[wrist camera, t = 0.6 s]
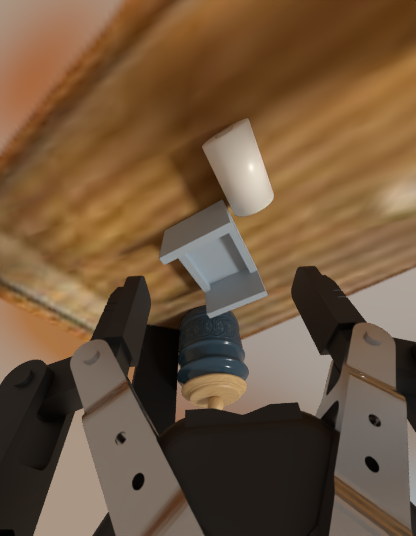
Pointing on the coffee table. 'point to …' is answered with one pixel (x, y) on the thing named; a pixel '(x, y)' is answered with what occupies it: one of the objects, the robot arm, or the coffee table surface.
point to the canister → (211, 359)
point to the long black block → (158, 375)
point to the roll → (239, 168)
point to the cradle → (215, 258)
